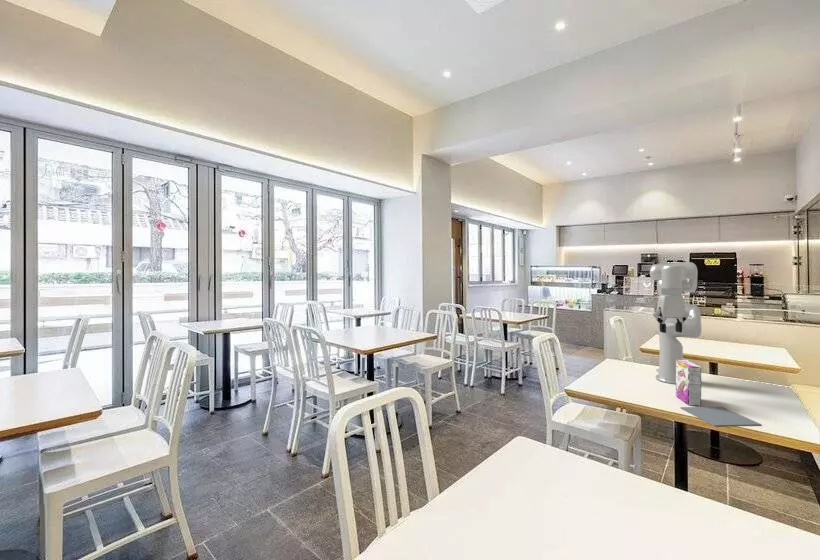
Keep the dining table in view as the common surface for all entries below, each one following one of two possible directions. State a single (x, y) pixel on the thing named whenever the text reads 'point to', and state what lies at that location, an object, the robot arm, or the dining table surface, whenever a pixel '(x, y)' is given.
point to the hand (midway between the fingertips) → (670, 331)
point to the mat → (720, 416)
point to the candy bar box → (688, 382)
